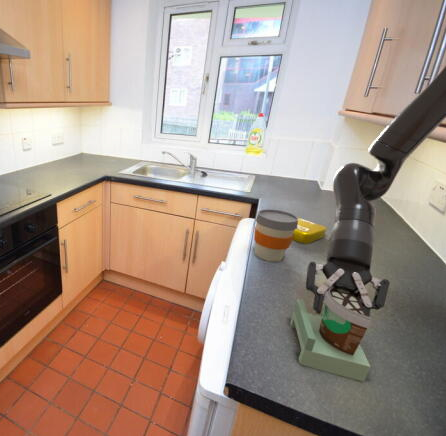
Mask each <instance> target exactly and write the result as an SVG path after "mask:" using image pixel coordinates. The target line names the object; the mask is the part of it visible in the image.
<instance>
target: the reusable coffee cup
mask: <svg viewBox="0 0 446 436" xmlns="http://www.w3.org/2000/svg"><path fill="white" fill-rule="evenodd" d="M298 218H299V217H298V216H296V215H295V214H294V213H291V212H287V211H285V210H278V209H273V208H272V209H271V208H268V209H267V208H266V209H261V210H258V212H257V215H256V217H255V222H256V225H255V227H254V236H253V240H254V255H255V256H256V257H257V258H259V259H261V260H264V261H267V262H273V261H274V262H275V263H276V261H277V262H281V261H282V260H283V259H284V256H285V254H286V252H287V249H289V248H290V246H291V244H292V241H293V240H292V239H293V237H294V231H295V229H297V225H298ZM274 262H273V263H274Z"/></svg>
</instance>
